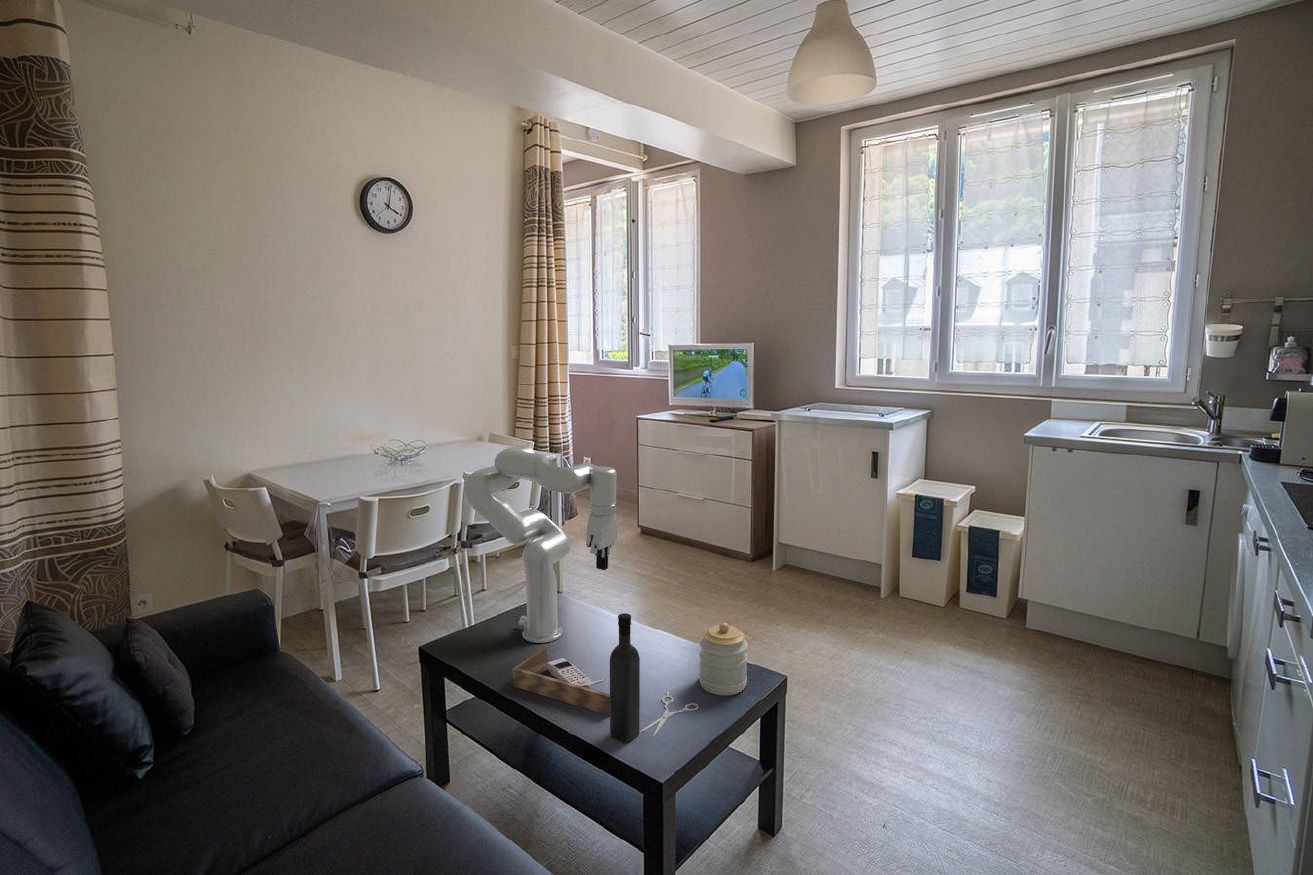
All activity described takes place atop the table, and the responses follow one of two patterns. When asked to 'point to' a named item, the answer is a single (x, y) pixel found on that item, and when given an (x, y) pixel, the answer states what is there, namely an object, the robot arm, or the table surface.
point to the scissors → (667, 713)
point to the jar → (723, 660)
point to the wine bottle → (624, 685)
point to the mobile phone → (570, 673)
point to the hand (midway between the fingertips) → (602, 568)
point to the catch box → (557, 685)
